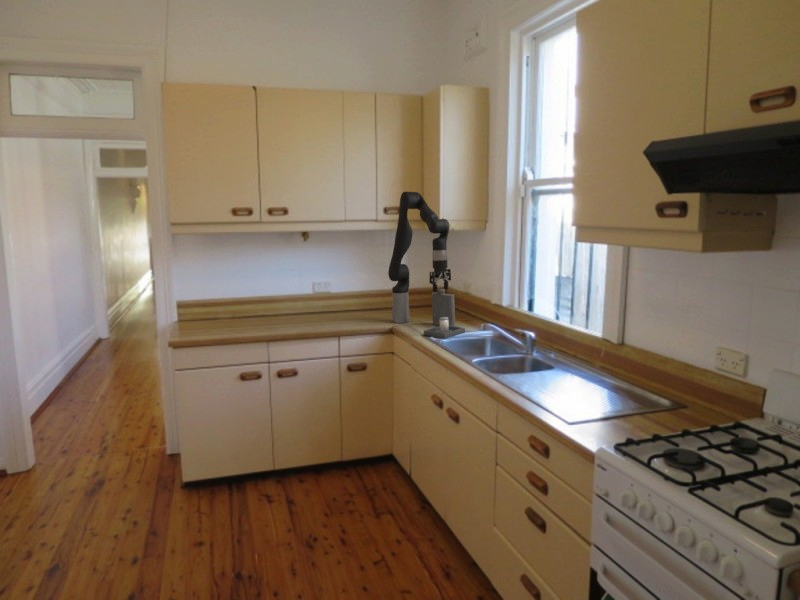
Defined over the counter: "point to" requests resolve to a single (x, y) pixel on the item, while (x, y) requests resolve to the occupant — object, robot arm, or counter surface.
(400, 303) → the robot arm
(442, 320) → the shaker
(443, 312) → the hip flask
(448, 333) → the tray
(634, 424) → the counter surface
